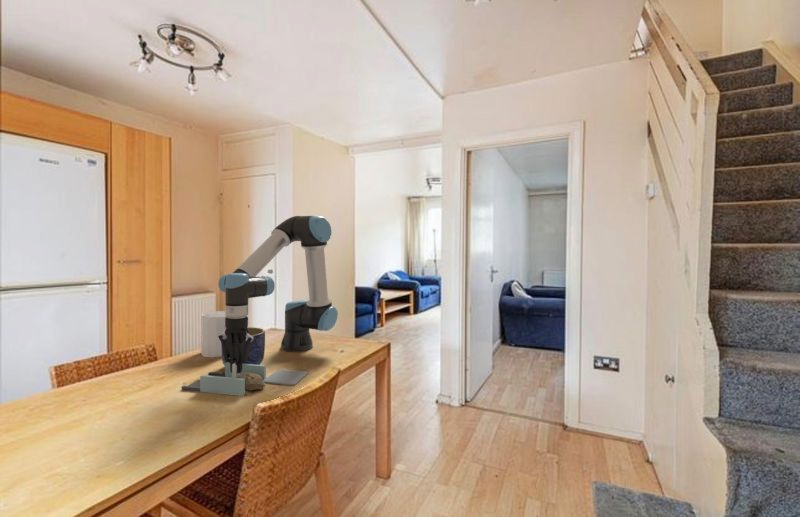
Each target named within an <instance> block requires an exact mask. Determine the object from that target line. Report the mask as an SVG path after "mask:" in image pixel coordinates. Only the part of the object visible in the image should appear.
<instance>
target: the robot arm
mask: <svg viewBox="0 0 800 517" xmlns="http://www.w3.org/2000/svg"><path fill="white" fill-rule="evenodd" d="M331 237H332V227H331V223H330V222H329V220H328V219H327V218H326V217H324V216H321V215H295V216H291V217H289V218H287V219H285V220H283V221H282V222H281V223H279V224H278V225H277V226H275V228H273V229H272V230H271V233H270V236H269V237H268V238H267V239H266V240H264V242H263V243H261V245H260V246H259V247H257V249H256V250H254V251H253V252H252V253H251V254H250V255H249V256H248V257H247V258H246V259H245V260H244V261H243V262H242V263H241V264H240V265H238V267H237V268H236V269H234V271H232V273H226V274H223V275H221V276H220V277H219V280H218V284H217V285H218V288H219V290H220V291H221V292H222V293H225V295H224V298H225V299H224V300H225V305H224V306H225V308H224V309H225V310H224V311H225V316H227V317H226V318H225V327H226V330H225V333H224V334H222V335H219V336H218V337H219V339H220V341H221V344H222V349H223V354H224V359H225V362H229V363H230V372H232V378H239V376H240V373H241V372H242V363H244V362H246V361H247V360H248V357H249V352H250V348H251V344H252V341H253V340H254V338H255V337H254V336H251V335H249V334H248V333H249V332H248V330H247V327H249V317H248V315H249V299H252V298H253V299H254V298H259V297H266V296H270V295H271V294H273V293H274V291H275V287H276V286H275V285H276V284H275V281H274V279H273V278H272V277H271V276H264V275H261V276H258V274H260V273H261V271H262V270H264V268H265V267H266V266H267V265H268V264H269V263H270V262H271V261H272V260H273V259H274V258H275V257H276V256H277V255H278V254H279V253H280V252H281V251H282V250H283V249H284V248H285V247H286V248H287V247H289V246H290V245H291V244H292V243H294V242H300V246H301V248H303V250H304V254H305V262H306V263H305V264H306V278H307V288H308V298H309V299H301V300H295V301H294V300H293V301H289V302H287V303H286V304H285V307H284V308H285V309H284V333H283V337H282V340H281V342H280V349H281V351H285V352H290V353H292V352H293V353H294V352H295V353H297V352H305V351H308V350H311V349H312V348H313V347H314V344H313V338H312V336H311V333H310V330H316V331H320V332H325V331H326V332H327V331H331V330H332V328H334V326H335V324H336V323H337V320H338V315H339V314H338V309H337V308H336V307H335V306H333V305H332V304H333V303H332V300H331V299H330V298H329V296H328V295H329V294H328V281H327V280H328V279H327V269H326V258H325V256H326V255H325V247H327V245H328V241H329V240H330V239H331ZM245 338H246V343H245V346H244V350H243V344H244V339H245ZM228 339H229V342H228ZM229 345H230V346H229Z"/></svg>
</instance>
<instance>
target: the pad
mask: <svg viewBox="0 0 800 517" xmlns="http://www.w3.org/2000/svg"><path fill="white" fill-rule="evenodd" d="M309 373H310V372H309V371H302V370H289V369H278V368H277V369H276V370H275V371H274V372H273V373H271V374H269V375H268V376H267V377H266V378H265V379H264V380H263V382H264V383H265V384H271V385H272V384H273V385H283V386H292V387H293V386H297V385H298V383H300V382H301V381H302V380H303V379H304V378H306V377H307V375H309Z"/></svg>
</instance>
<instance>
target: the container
mask: <svg viewBox="0 0 800 517" xmlns="http://www.w3.org/2000/svg"><path fill="white" fill-rule="evenodd" d="M200 315H201V319H200V321H201V322H200V323H201V329H200V330H201V331H200V334H201V336H200V338H201V339H200V345H201V346H200V348H201V349H200V354H201V356H202V357H205V358H220V357H221V358H222V354H221V341H220V339H219V337H218V336H219V335H222V333H223V332H224V331H225V330H226V327H225V318H226V317H227V316H225V310H217V311H215V310H214V311H208V312H204V313H202V314H200Z"/></svg>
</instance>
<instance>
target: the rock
mask: <svg viewBox="0 0 800 517" xmlns="http://www.w3.org/2000/svg"><path fill="white" fill-rule="evenodd" d="M239 378H242V379H245V390H247V391H254V390H263V389H264V387H265V385H266V383H264V382H263V380H262V377H261V376H259V375H258V374H255V373H254V374H253V373H248V372H245V373H242V374H241V375H240V376H239Z"/></svg>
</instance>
